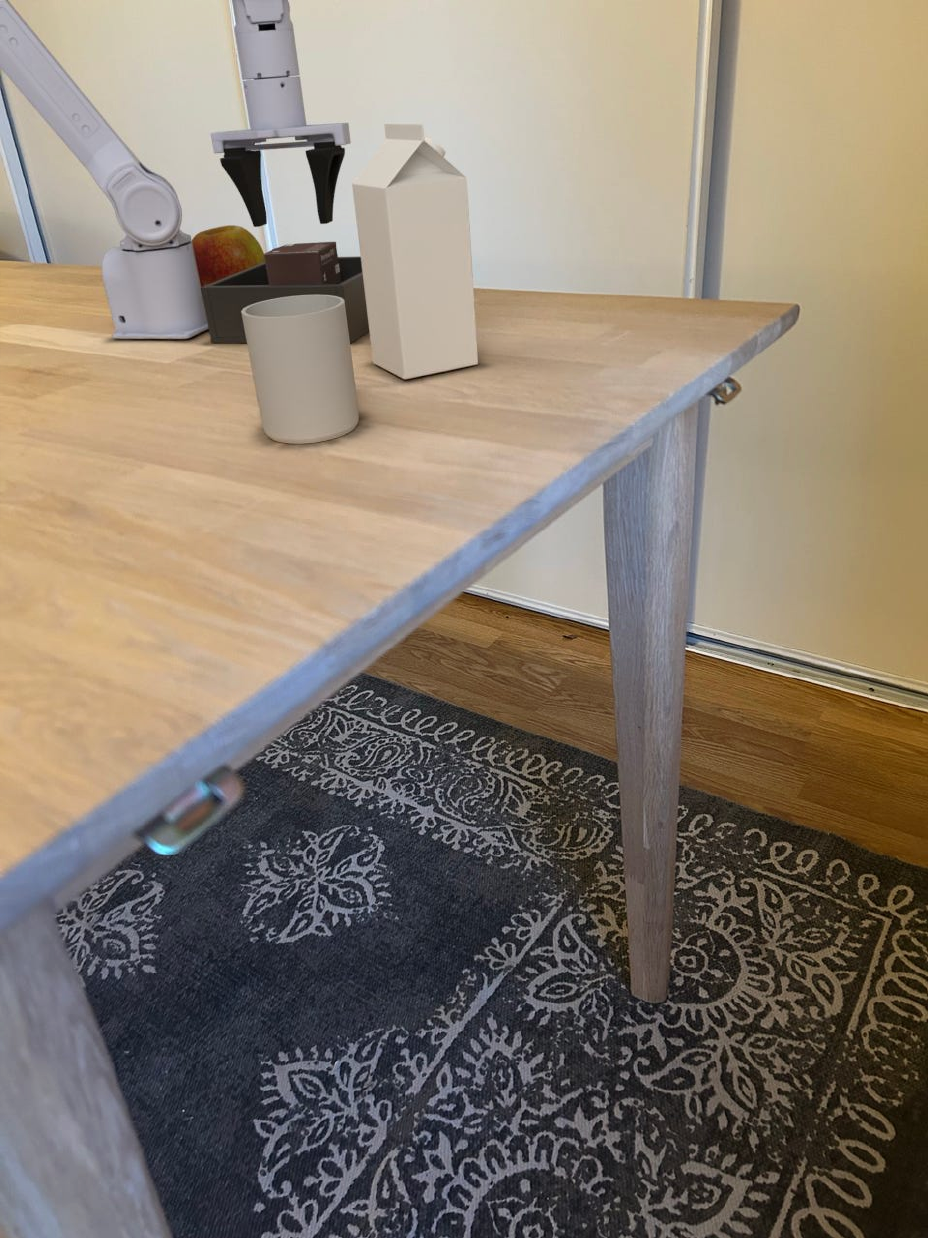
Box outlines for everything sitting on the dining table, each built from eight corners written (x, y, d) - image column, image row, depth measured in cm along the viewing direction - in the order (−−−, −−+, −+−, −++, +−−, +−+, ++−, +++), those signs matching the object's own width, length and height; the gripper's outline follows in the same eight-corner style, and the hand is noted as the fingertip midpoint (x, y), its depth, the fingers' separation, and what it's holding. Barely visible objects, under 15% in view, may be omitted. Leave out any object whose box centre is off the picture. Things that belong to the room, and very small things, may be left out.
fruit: (178, 302, 117) (164, 233, 113) (226, 286, 124) (214, 221, 120) (238, 304, 113) (225, 233, 109) (285, 289, 120) (274, 221, 116)
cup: (278, 452, 67) (255, 323, 62) (245, 415, 75) (222, 299, 70) (373, 431, 69) (358, 305, 64) (331, 398, 77) (315, 284, 72)
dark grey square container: (211, 343, 97) (199, 287, 94) (279, 308, 110) (271, 258, 107) (350, 343, 92) (343, 285, 90) (405, 307, 105) (400, 255, 102)
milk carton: (404, 381, 80) (379, 128, 70) (372, 364, 85) (344, 127, 76) (479, 366, 82) (464, 120, 73) (443, 350, 88) (424, 119, 78)
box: (328, 325, 98) (318, 250, 94) (274, 327, 99) (261, 253, 95) (346, 312, 103) (337, 240, 99) (295, 313, 104) (283, 243, 100)
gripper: (187, 84, 93) (215, 232, 100) (325, 73, 89) (344, 226, 96) (219, 82, 99) (243, 222, 106) (349, 71, 95) (366, 216, 102)
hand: (293, 223), depth 101 cm, fingers open, 7 cm apart
